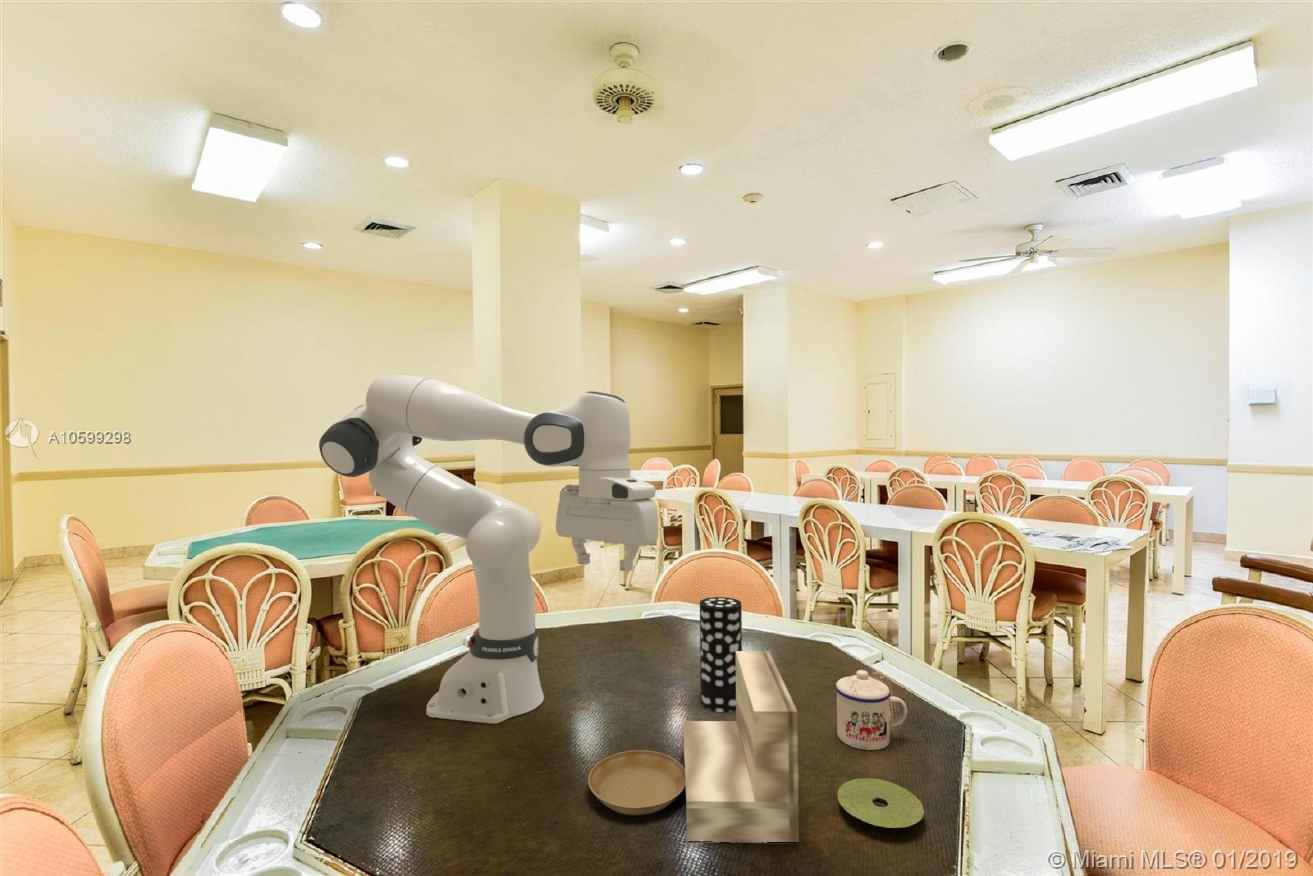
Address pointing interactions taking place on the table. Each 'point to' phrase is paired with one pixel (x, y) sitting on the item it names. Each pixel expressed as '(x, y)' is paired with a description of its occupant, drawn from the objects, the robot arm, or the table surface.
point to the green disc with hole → (880, 803)
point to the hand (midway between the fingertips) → (604, 567)
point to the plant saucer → (637, 781)
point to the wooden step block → (745, 762)
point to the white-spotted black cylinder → (719, 652)
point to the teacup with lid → (865, 711)
